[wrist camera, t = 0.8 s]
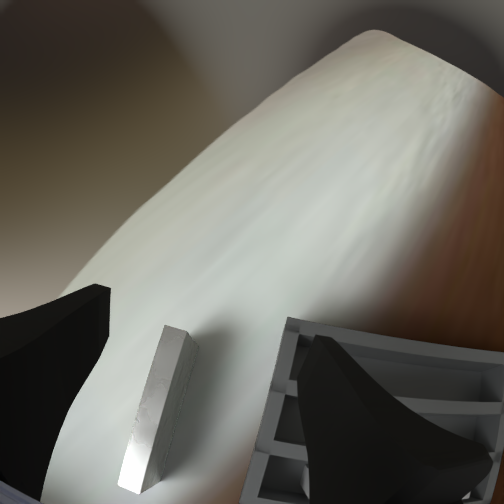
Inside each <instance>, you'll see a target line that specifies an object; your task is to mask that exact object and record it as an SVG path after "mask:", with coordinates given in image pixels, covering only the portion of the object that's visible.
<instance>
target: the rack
mask: <svg viewBox="0 0 504 504" xmlns="http://www.w3.org/2000/svg"><path fill="white" fill-rule="evenodd" d="M315 334H316V335H322V336H328V337H332V338H333V339H334V340H335V341H336V342H338V343H339V344H340V345H341V346H342V347H343V349H344V350H345V351H346V352H347V353H348V354H349V355H350V356H351V357H352V358H353V359H354V360H355V361H356V362H357V363H358V364H359V365H360V366H361V367H362V368H363V369H364V370H365V371H366V372H367V373H368V374H369V375H370V376H371V377H372V378H373V379H374V380H375V381H376V382H377V383H378V384H379V385H381V386H382V387H383V388H384V389H385V390H386V391H387V392H388V393H390V394H391V395H392V396H393V397H395V398H396V399H397V400H399V401H400V402H401V403H403V404H404V405H405V406H407V407H408V408H409V409H411V410H412V411H414V412H415V413H417V414H419V415H420V416H422V417H423V418H425V419H427V420H428V421H430V422H432V423H434V424H436V425H437V426H439V427H441V428H443V429H445V430H448V431H450V432H452V433H454V434H456V435H459V436H461V437H464V438H467V439H470V440H472V441H475V442H478V443H481V444H483V445H484V446H485V448H486V449H487V451H488V453H489V455H490V456H491V458H492V460H493V466H492V469H491V471H490V472H489V474H488V475H487V476H486V477H485V478H484V479H483V480H482V481H481V482H480V483H479V484H478V485H477V486H476V487H475V488H474V489H473V490H471V491H470V492H469V493H468V494H467V495H466V496H465V497H463V498H462V502H463V504H490V502H491V498H492V495H493V491H494V488H495V484H496V480H497V476H498V472H499V467H500V463H501V458H502V453H503V448H504V353H503V352H494V351H486V350H478V349H470V348H462V347H455V346H448V345H441V344H434V343H427V342H420V341H414V340H408V339H402V338H396V337H390V336H384V335H378V334H372V333H367V332H361V331H356V330H351V329H345V328H340V327H335V326H330V325H325V324H320V323H315V322H310V321H305V320H300V319H295V318H291V317H287V320H286V324H285V327H284V331H283V335H282V339H281V343H280V348H279V352H278V356H277V360H276V365H275V369H274V373H273V377H272V381H271V385H270V389H269V393H268V397H267V401H266V405H265V409H264V412H263V416H262V420H261V424H260V428H259V431H258V435H257V439H256V442H255V446H254V450H253V453H252V457H251V460H250V464H249V467H248V471H247V474H246V478H245V481H244V485H243V488H242V491H241V496H240V500H239V504H309V468H308V456H307V449H306V444H305V439H304V433H303V428H302V422H301V417H300V411H299V406H298V396H297V376H298V374H299V372H300V369H301V367H302V365H303V363H304V360H305V358H306V356H307V353H308V351H309V349H310V346H311V344H312V342H313V339H314V337H315Z"/></svg>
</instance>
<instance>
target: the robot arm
mask: <svg viewBox="0 0 504 504" xmlns="http://www.w3.org/2000/svg"><path fill="white" fill-rule="evenodd" d="M110 294H111V288H109V287H105V286H102V285H98V284H92V285H90V286H87V287H84V288H82V289H80V290H77V291H75V292H73V293H70V294H68V295H66V296H63V297H61V298H59V299H56V300H54V301H52V302H49V303H47V304H44V305H41V306H38V307H36V308H33V309H31V310H27V311H24V312H21V313H18V314H14V315H11V316H7V317H3V318H0V504H43V503H41V502H40V499H41V494H42V490H43V485H44V481H45V477H46V473H47V469H48V466H49V462H50V459H51V456H52V452H53V449H54V447H55V444H56V441H57V438H58V435H59V432H60V430H61V427H62V425H63V422H64V420H65V418H66V415H67V413H68V410H69V408H70V407H71V405H72V403H73V401H74V399H75V397H76V396H77V394H78V392H79V391H80V389H81V387H82V386H83V384H84V382H85V381H86V379H87V378H88V376H89V374H90V373H91V371H92V369H93V368H94V366H95V364H96V363H97V361H98V359H99V358H100V356H101V353H102V351H103V349H104V347H105V344H106V342H107V340H108V337H109V321H110ZM297 396H298V406H299V411H300V417H301V422H302V428H303V433H304V439H305V444H306V449H307V456H308V468H309V504H463V502H462V498H463V497H465V496H466V495H467V494H468V493H469V492H470V491H471V490H473V489H474V488H475V487H476V486H477V485H478V484H479V483H480V482H481V481H482V480H483V479H484V478H485V477H486V476H487V475H488V474H489V472H490V471H491V469H492V466H493V460H492V458H491V456H490V455H489V453H488V451H487V449H486V448H485V446H484V445H483V444H481V443H478V442H475V441H472V440H470V439H467V438H464V437H461V436H459V435H456V434H454V433H452V432H450V431H448V430H445V429H443V428H441V427H439V426H437V425H436V424H434V423H432V422H430V421H428V420H427V419H425V418H423V417H422V416H420V415H419V414H417V413H415V412H414V411H412V410H411V409H409V408H408V407H407V406H405V405H404V404H403V403H401V402H400V401H399V400H397V399H396V398H395V397H393V396H392V395H391V394H390V393H388V392H387V391H386V390H385V389H384V388H383V387H382V386H381V385H379V384H378V383H377V382H376V381H375V380H374V379H373V378H372V377H371V376H370V375H369V374H368V373H367V372H366V371H365V370H364V369H363V368H362V367H361V366H360V365H359V364H358V363H357V362H356V361H355V360H354V359H353V358H352V357H351V356H350V355H349V354H348V353H347V352H346V351H345V350H344V349H343V347H342V346H341V345H340V344H339V343H338V342H336V341H335V340H334V339H333V338H332V337H328V336H322V335H316V334H315V337H314V339H313V342H312V344H311V346H310V349H309V351H308V353H307V356H306V358H305V360H304V363H303V365H302V367H301V369H300V372H299V374H298V376H297Z"/></svg>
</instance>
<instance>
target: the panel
mask: <svg viewBox="0 0 504 504" xmlns="http://www.w3.org/2000/svg"><path fill="white" fill-rule="evenodd" d="M198 349H199V345H198V344H197V343H196V342H195V340H194V339H193V338H192V337H191V336H190V335H189V333H188V332H187V331H184V330H181V329H177V328H174V327H170V326H167V325H165V326H164V329H163V332H162V335H161V338H160V341H159V344H158V347H157V350H156V353H155V356H154V359H153V362H152V365H151V369H150V372H149V375H148V378H147V381H146V385H145V388H144V391H143V395H142V398H141V401H140V405H139V408H138V411H137V415H136V418H135V422H134V425H133V429H132V432H131V436H130V440H129V443H128V447H127V451H126V454H125V458H124V462H123V466H122V470H121V474H120V478H119V482H118V485H119V486H121V487H123V488H126V489H128V490H130V491H133V492H135V493H137V494H141V493H143V492H144V491H146V490H147V489H149V488H151V487H152V486H154V485H156V484H157V483H159V482H160V481H161V477H162V473H163V470H164V466H165V462H166V459H167V455H168V452H169V448H170V445H171V441H172V437H173V434H174V430H175V427H176V423H177V420H178V416H179V413H180V410H181V406H182V403H183V399H184V396H185V392H186V389H187V386H188V382H189V379H190V375H191V372H192V369H193V365H194V362H195V359H196V355H197V352H198Z"/></svg>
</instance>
